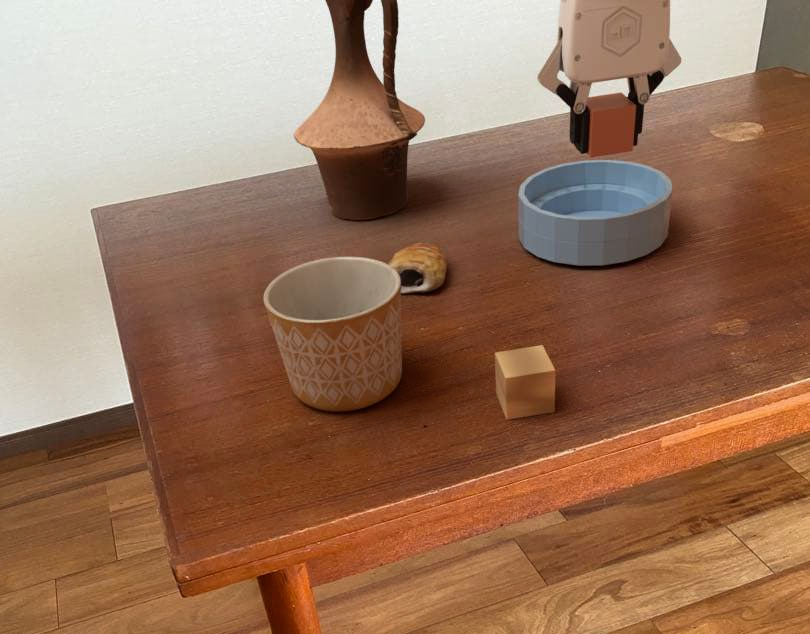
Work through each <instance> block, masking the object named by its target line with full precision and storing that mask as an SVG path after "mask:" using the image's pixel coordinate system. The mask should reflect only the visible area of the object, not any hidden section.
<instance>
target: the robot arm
mask: <svg viewBox="0 0 810 634" xmlns="http://www.w3.org/2000/svg"><path fill="white" fill-rule="evenodd" d="M670 32H671V0H560V2H559V11H558V18H557V30H556V45H555V47H554V48H553V50H552V51H551V53H550V55H549V56H548V58H547V60H546V61H545V63H544V65H543V66H542V68H541V69H540V71H539V73H538V74H537V82H538V83H539V84H540V85H541V86H542V87H543V88H545V89H546V90H548V91H550V92H551V93H553V94H555V95H556V96H557V97H558V98H559V99H561V100H562V101H563V102H564V103H565V105H566V106H568V107H569V140H570V143H571V145H573V146H574V148H575V149H576V150H577V151H578V152H579V153H580V155H584V154H587V152H588V146H589V124H590V114H589V113H588V112H587V105H586V104H587V100H588V97H590V91H591V88H592V85H593V84H594V83H603V82H608V81H615V80H621V79H622V80H623V79H626V81H627V86H628V93H627V96H626V97H627V98H628V99H630V100H631V101H632V102H633V103H634V104H635V105H636V114H635V127H634V140H633V147H637V146H638V142H639V135H640V134H642V132H643V124H644V115H645V114H644V112H645V105H646V104H647V103H648V102H649V101H650V99H651V95H652V94H653V93H654V92H655V90H656V89H657V88H658V87H660V85H661V83H663V81H664V79H665V78H666V77H668V76H669V75H671V73H672V72H673V71H675V70H676V69H677V68H678V67H679V66H680V65H681V64H682V57H681V55H680V53H679V52H678V49H676V46H675V45H674V43H673V41H672V39H671V37H670V36H671V35H670V34H671V33H670ZM559 72H562V73H564V75H565V77H566V78H567V79H568V80H569V81H570V82H569V86H568V85H567V84H566V83H565V82H564V81H562V80H561V79H559V78H558V74H559Z"/></svg>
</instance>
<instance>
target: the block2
mask: <svg viewBox="0 0 810 634" xmlns="http://www.w3.org/2000/svg"><path fill="white" fill-rule="evenodd" d="M627 97H628V96H626V94H624V93H623V92H622V91H621V92H615V93H608V94H602V95H595V96H588V100H587V104H586V105H587V112H588V113H589V114H590V124H589V146H588V152H587V153H586V154H587V156H589V158H596V157H603V156H610V155H616V154H622V153H629V152H633V150H634V146H633V140H634V127H635V114H636V105H635V104H634V103H633V102H632V101H631V100H630V99H628V98H627Z"/></svg>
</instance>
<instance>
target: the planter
mask: <svg viewBox="0 0 810 634" xmlns="http://www.w3.org/2000/svg"><path fill="white" fill-rule="evenodd" d="M263 304H264V307H265V311H266V313H267V316H268V319H269V322H270V325H271V328H272V332H273V335H274V337H275V341H276V345H277V347H278V351H279V353H280V357H281V360H282V362H283V366H284V368H285V371H286V375H287V377H288V380H289V384H290V387H291V390H292V391H293V394H294V395H295V396H296V397H297V398H298V399H299V400H300V401H301V402H302V403H304V404H305V405H307V406H309V407H310V408H314V409H317V410H321V411H325V412H335V413H336V412H337V413H338V412H339V413H341V412H351V411H357V410H361V409H364V408H367V407H370V406H373V405H375V404H377V403H379V402H381V401H382V400H384V399H386V398H387V397H388V396H390V395H391V394H392V393H393V392H394V391H395V389H396V388H397V387H398V385H399V384H400V382H401V378H402V373H403V349H402V348H403V345H402V344H403V343H402V342H403V341H402V339H403V338H402V336H403V335H402V294H401V279H400V276H399V274H398V273H397V271H396V270H395V269H394V268H392V267H391V266H390V265H388V263H386V262H384V261H381V260H378V259H374V258H370V257H363V256H362V257H361V256H334V257H326V258H320V259H316V260H312V261H308V262H305V263H301V264H299V265H297V266H294V267H292V268H290V269H288V270H286V271H284V272H282V273H280V274H279V275H278V276H276V277H275V278H274V279H273V280H272V281H271V282H270V283H269V284H268V285H267V287H266V288H265V290H264V293H263Z"/></svg>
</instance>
